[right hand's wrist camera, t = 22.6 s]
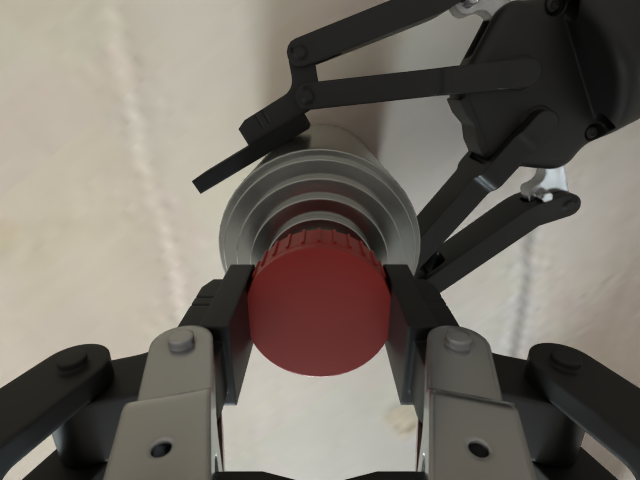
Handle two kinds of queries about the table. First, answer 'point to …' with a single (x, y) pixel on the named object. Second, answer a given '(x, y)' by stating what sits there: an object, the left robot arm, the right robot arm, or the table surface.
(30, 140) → the table surface
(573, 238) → the table surface
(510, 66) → the left robot arm
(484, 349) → the right robot arm
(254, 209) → the bottle
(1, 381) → the table surface
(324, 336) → the cap
